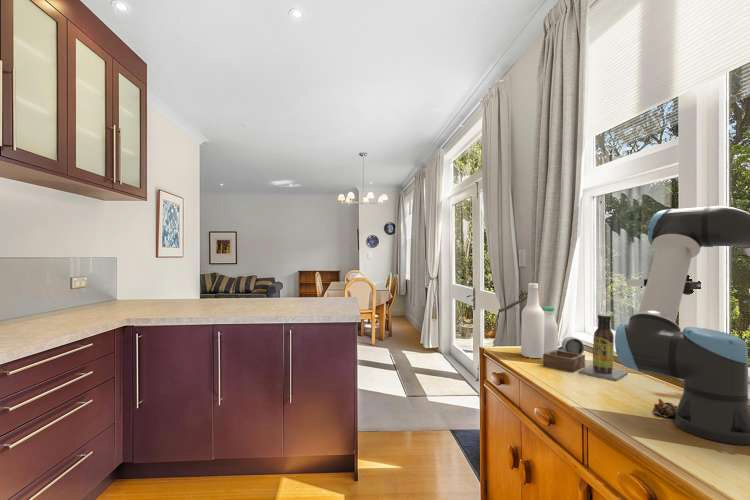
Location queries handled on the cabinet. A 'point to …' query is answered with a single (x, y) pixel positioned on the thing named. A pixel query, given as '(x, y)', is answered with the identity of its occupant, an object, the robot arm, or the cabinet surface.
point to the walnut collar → (564, 360)
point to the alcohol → (532, 325)
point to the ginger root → (664, 409)
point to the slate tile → (611, 376)
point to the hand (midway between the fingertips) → (642, 283)
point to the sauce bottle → (603, 345)
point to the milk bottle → (550, 330)
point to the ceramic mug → (572, 345)
